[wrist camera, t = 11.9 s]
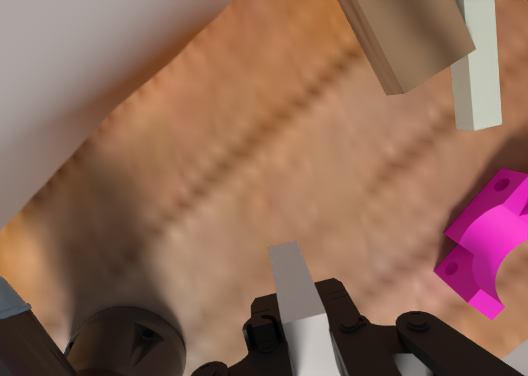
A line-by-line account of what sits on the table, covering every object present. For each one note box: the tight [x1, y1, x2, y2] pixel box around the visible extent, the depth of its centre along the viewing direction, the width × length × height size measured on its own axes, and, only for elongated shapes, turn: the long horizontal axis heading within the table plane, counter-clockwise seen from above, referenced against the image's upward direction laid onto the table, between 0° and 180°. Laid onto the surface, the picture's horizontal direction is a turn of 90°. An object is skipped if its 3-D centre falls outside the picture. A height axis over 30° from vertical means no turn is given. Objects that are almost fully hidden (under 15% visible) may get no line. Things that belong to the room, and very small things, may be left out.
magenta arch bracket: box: [433, 168, 528, 320], centre depth 39 cm, size 15×6×8 cm, turn 144°
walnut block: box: [338, 0, 476, 95], centre depth 35 cm, size 8×12×5 cm, turn 32°
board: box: [451, 0, 502, 130], centre depth 36 cm, size 3×16×4 cm, turn 13°
